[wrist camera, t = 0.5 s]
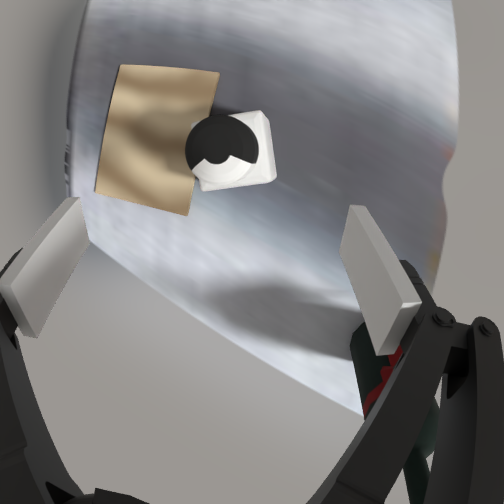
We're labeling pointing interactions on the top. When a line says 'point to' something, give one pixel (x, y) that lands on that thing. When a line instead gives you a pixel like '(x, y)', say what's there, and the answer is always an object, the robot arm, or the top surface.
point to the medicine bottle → (231, 151)
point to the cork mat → (153, 135)
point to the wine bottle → (370, 387)
